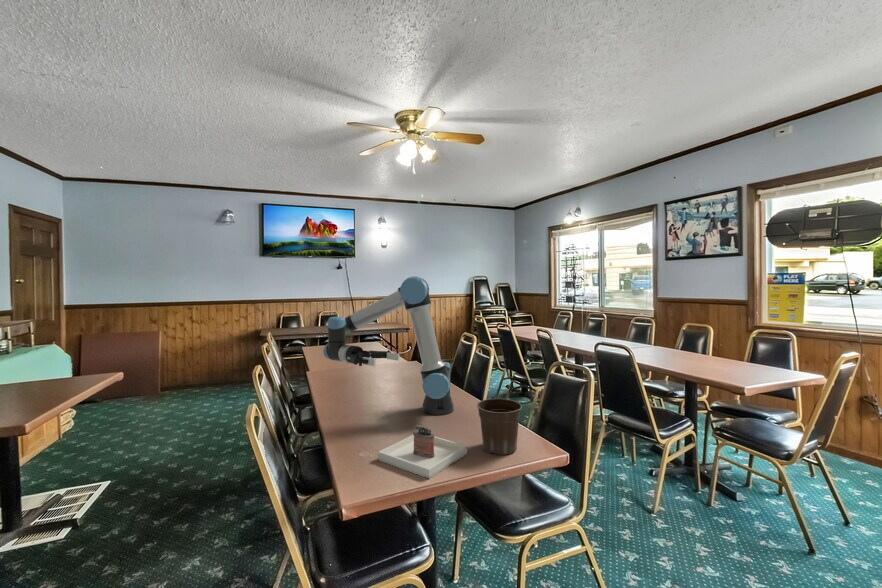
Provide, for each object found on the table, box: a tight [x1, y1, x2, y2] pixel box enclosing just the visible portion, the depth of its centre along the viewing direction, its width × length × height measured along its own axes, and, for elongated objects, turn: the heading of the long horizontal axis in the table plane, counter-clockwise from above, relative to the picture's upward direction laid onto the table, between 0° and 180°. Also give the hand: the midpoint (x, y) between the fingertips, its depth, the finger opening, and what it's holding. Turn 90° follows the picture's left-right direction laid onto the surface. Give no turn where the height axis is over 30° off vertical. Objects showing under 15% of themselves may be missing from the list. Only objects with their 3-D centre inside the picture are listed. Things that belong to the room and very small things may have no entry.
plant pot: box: [476, 398, 523, 456], centre depth 141 cm, size 16×16×16 cm
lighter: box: [412, 424, 435, 458], centre depth 134 cm, size 8×3×10 cm, turn 62°
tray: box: [377, 434, 468, 479], centre depth 134 cm, size 22×22×3 cm
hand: (387, 359), depth 155 cm, fingers open, 13 cm apart
